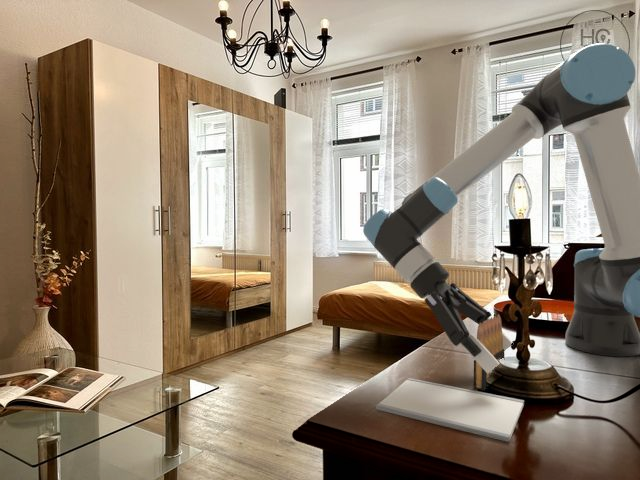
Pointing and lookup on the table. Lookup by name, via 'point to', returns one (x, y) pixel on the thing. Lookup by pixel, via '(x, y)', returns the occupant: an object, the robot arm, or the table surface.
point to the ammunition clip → (488, 347)
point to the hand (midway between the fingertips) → (501, 357)
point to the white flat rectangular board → (455, 408)
